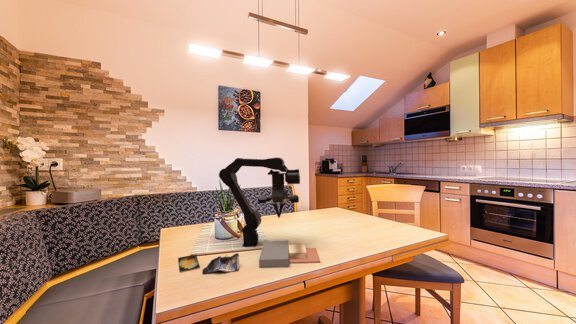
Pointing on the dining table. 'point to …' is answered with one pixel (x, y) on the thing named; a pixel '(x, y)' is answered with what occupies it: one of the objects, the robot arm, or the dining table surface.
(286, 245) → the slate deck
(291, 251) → the birch tile
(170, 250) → the dining table surface
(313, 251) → the terracotta mat
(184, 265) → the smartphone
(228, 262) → the snack package
